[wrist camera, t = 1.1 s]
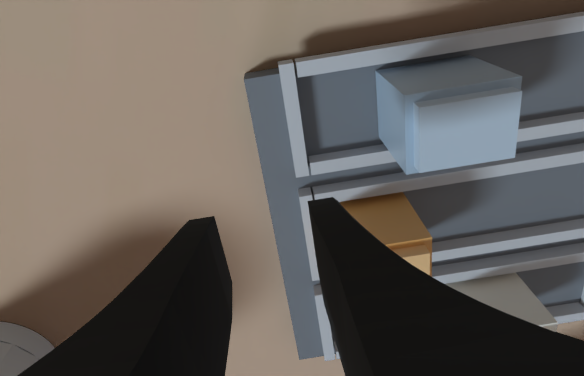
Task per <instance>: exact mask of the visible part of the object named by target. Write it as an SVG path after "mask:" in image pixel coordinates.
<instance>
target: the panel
mask: <svg viewBox="0 0 584 376" xmlns="http://www.w3.org/2000/svg"><path fill="white" fill-rule="evenodd" d="M467 55H470V56H473V57H475V58H478V59H480V60H483V61H485V62H488V63H490V64H493V65H495V66H498V67H500V68H503V69H505V70H508V71H510V72H513V73H515V74H518V75H521V76H522V83H521V91H522V99H521V108H520V117H519V126H518V135H517V144H516V153H515V158H510V159H504V160H498V161H492V162H486V163H479V164H473V165H467V166H461V167H455V168H448V169H442V170H436V171H430V172H424V173H414V174H408V175H406V174H405V173H404V171H403V170H402V168H401V167H400V166H399V164H398V163H397V161H396V160H395V159H394V157H393V156H392V155H391V153H390V152H389V150H388V149H387V148H386V146H385V145H384V143H383V142H382V141H381V139H380V138H379V131H378V112H377V92H376V73H375V70H382V69H388V68H394V67H400V66H406V65H412V64H418V63H425V62H431V61H437V60H443V59H449V58H455V57H461V56H467ZM278 67H279V68H274V69H268V70H262V71H256V72H250V73H245V76H244V82H245V87H246V92H247V97H248V102H249V107H250V112H251V117H252V122H253V128H254V133H255V138H256V143H257V148H258V153H259V158H260V163H261V168H262V173H263V178H264V183H265V188H266V193H267V198H268V203H269V208H270V213H271V218H272V224H273V229H274V234H275V239H276V244H277V249H278V254H279V259H280V264H281V269H282V274H283V279H284V284H285V289H286V294H287V299H288V304H289V309H290V314H291V320H292V325H293V330H294V335H295V340H296V345H297V350H298V355H299V360H301V359H307V358H313V357H320V356H324V358H325V361H328V360H334V359H335V355H334V354H336V357H337V359H340V356H339V352H338V349H337V346H336V342H335V339H334V336H333V333H332V329H331V326H330V322H329V319H328V316H327V312H326V309H325V306H324V301H323V296H322V290H321V285H320V279H319V274H318V268H317V262H316V255H315V248H314V241H313V235H312V228H311V221H310V214H309V207H308V201H311V200H317V199H324V198H330V197H333V198H335V199H336V200H337V201H338V202H342V201H349V200H355V199H361V198H367V197H373V196H380V195H386V194H392V193H398V192H403V193H404V195H405V196H406V198H407V199H408V201H409V202H410V204H411V205H412V207H413V209H414V210H415V212H416V213H417V215H418V216H419V218H420V219H421V221H422V222H423V224H424V225H425V227H426V229H427V230H428V232H429V233H430V235H431V236H432V277H433V278H435V279H436V280H438V281H440V282H442V283H444V284H446V283H452V282H459V281H465V280H471V279H477V278H484V277H490V276H496V275H502V274H509V273H515V272H516V274H517V275H518V276H519V277H520V278H521V279H522V281H523V282H524V283H525V284H526V285H527V286H528V288H529V289H530V290H531V291H532V292H533V294H534V295H535V296H536V297H537V298H538V299H539V301H540V302H541V303H542V304H543V305H544V306H545V308H546V309H547V310H548V311H549V312H550V314H551V315H552V316H553V317H554V318H555V319H556V321H557V322H558V324H560V323H567V322H573V321H579V320H584V12H578V13H571V14H565V15H559V16H553V17H547V18H541V19H535V20H529V21H522V22H516V23H510V24H504V25H498V26H492V27H486V28H480V29H474V30H467V31H461V32H455V33H449V34H443V35H437V36H431V37H425V38H418V39H412V40H406V41H400V42H394V43H388V44H382V45H376V46H369V47H363V48H357V49H351V50H345V51H339V52H333V53H327V54H321V55H314V56H308V57H302V58H296V59H295V65H294V64H293V60H292V59H290V60H284V61H278Z"/></svg>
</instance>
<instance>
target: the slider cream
mask: <svg viewBox="0 0 584 376" xmlns="http://www.w3.org/2000/svg"><path fill="white" fill-rule="evenodd" d="M446 285H447V286H449V287H451V288H453V289H455V290H457V291H459V292H461V293H463V294H465V295H467V296H470V297H472V298H474V299H476V300H478V301H480V302H482V303H484V304H486V305H489V306H491V307H493V308H496V309H498V310H500V311H503V312H505V313H507V314H510V315H512V316H515V317H517V318H520V319H523V320H525V321H528V322H530V323H533V324H535V325H538V326H541V327H543V328H546V329H549V330H551V331H554V332H556V330H557V325H558V322H557V321H556V319H555V318H554V317H553V316H552V315H551V314H550V312H549V311H548V310H547V309H546V308H545V306H544V305H543V304H542V303H541V302H540V301H539V299H538V298H537V297H536V296H535V295H534V294H533V292H532V291H531V290H530V289H529V288H528V286H527V285H526V284H525V283H524V282H523V281H522V279H521V278H520V277H519V276H518V275H517V274H516V272H515V273H509V274H502V275H496V276H490V277H484V278H477V279H471V280H465V281H459V282H452V283H446Z"/></svg>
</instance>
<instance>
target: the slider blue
mask: <svg viewBox="0 0 584 376" xmlns="http://www.w3.org/2000/svg"><path fill="white" fill-rule="evenodd" d="M375 73H376V92H377V112H378V131H379V138H380V139H381V141H382V142H383V143H384V145H385V146H386V148H387V149H388V150H389V152H390V153H391V155H392V156H393V157H394V159H395V160H396V161H397V163H398V164H399V166H400V167H401V168H402V170H403V171H404V173H405V174H406V175H408V174H414V173H424V172H430V171H436V170H442V169H448V168H455V167H461V166H467V165H473V164H479V163H486V162H492V161H498V160H504V159H510V158H515V153H516V144H517V135H518V126H519V117H520V108H521V99H522V91H521V83H522V76H521V75H518V74H515V73H513V72H510V71H508V70H505V69H503V68H500V67H498V66H495V65H493V64H490V63H488V62H485V61H483V60H480V59H478V58H475V57H473V56H470V55H467V56H461V57H455V58H449V59H443V60H437V61H431V62H425V63H418V64H412V65H406V66H400V67H394V68H388V69H382V70H375Z"/></svg>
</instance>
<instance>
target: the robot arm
mask: <svg viewBox="0 0 584 376" xmlns="http://www.w3.org/2000/svg"><path fill="white" fill-rule="evenodd" d="M308 207H309V214H310V221H311V228H312V235H313V241H314V248H315V255H316V262H317V268H318V274H319V279H320V285H321V290H322V296H323V301H324V306H325V309H326V312H327V316H328V319H329V322H330V326H331V329H332V333H333V336H334V339H335V342H336V346H337V349H338V352H339V356H340V359H341V362H342V366H343V369H344V372H345V376H584V341H582V340H579V339H576V338H573V337H570V336H567V335H564V334H561V333H558V332H554V331H551V330H549V329H546V328H543V327H541V326H538V325H535V324H533V323H530V322H528V321H525V320H523V319H520V318H517V317H515V316H512V315H510V314H507V313H505V312H503V311H500V310H498V309H496V308H493V307H491V306H489V305H486V304H484V303H482V302H480V301H478V300H476V299H474V298H472V297H470V296H467V295H465V294H463V293H461V292H459V291H457V290H455V289H453V288H451V287H449V286H447V285H446V284H444V283H442V282H440V281H438V280H436V279H435V278H433V277H431V276H430V275H428V274H426V273H425V272H423V271H421V270H420V269H418V268H416V267H415V266H413V265H412V264H410V263H409V262H407V261H406V260H404V259H403V258H402V257H400V256H399V255H398V254H396V253H395V252H393V251H392V250H391V249H389V248H388V247H387V246H386V245H384V244H383V243H382V242H381V241H379V240H378V239H377V238H376V237H375V236H374V235H372V234H371V233H370V232H369V231H368V230H367V229H365V228H364V227H363V226H362V225H361V224H360V223H359V222H358V221H357V220H356V219H355V218H354V217H353V216H352V215H351V214H350V213H349V212H348V211H347V210H346V209H345V208H344V207H343V206H342V205H341V204H340V203H339V202H338V201H337V200H336V199H335V198H333V197H330V198H324V199H317V200H311V201H308ZM231 324H232V280H231V276H230V273H229V269H228V265H227V262H226V258H225V254H224V251H223V247H222V243H221V240H220V236H219V232H218V229H217V225H216V221H215V218H214V216H212V217H206V218H200V219H194V220H189V221H188V222H187V223H186V224H185V225H184V226H183V227H182V228H181V229H180V230H179V231H178V233H177V234H176V235H175V236H174V237H173V238H172V239H171V240H170V242H169V243H168V244H167V245H166V246H165V247H164V248H163V249H162V251H161V252H160V253H159V254H158V255H157V256H156V257H155V258H154V259H153V260H152V261H151V263H150V264H149V265H148V266H147V267H146V268H145V269H144V270H143V271H142V272H141V273H140V274H139V275H138V276H137V277H136V278H135V279H134V280H133V281H132V282H131V283H130V284H129V285H128V286H127V287H126V288H125V289H124V290H123V291H122V292H121V293H120V294H119V295H118V296H117V297H116V298H115V299H114V300H113V301H112V302H111V303H109V304H108V305H107V306H106V307H105V308H104V309H103V310H102V311H101V312H99V313H98V314H97V315H96V316H95V317H94V318H92V319H91V320H90V321H89V322H88V323H86V324H85V325H84V326H83V327H82V328H80V329H79V330H78V331H77V332H76V333H74V334H73V335H72V336H71V337H69V338H68V339H67V340H65V341H64V342H63V343H61V344H60V345H59V346H57V347H56V348H55V349H53V350H52V351H50V352H49V353H48V354H46V355H45V356H44V357H42V358H41V359H39V360H38V361H37V362H35V363H34V364H33V365H31V366H30V367H28V368H27V369H26V370H24V371H23V372H22V373H20V374H19V375H17V376H225V370H226V362H227V355H228V347H229V340H230V332H231Z"/></svg>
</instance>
